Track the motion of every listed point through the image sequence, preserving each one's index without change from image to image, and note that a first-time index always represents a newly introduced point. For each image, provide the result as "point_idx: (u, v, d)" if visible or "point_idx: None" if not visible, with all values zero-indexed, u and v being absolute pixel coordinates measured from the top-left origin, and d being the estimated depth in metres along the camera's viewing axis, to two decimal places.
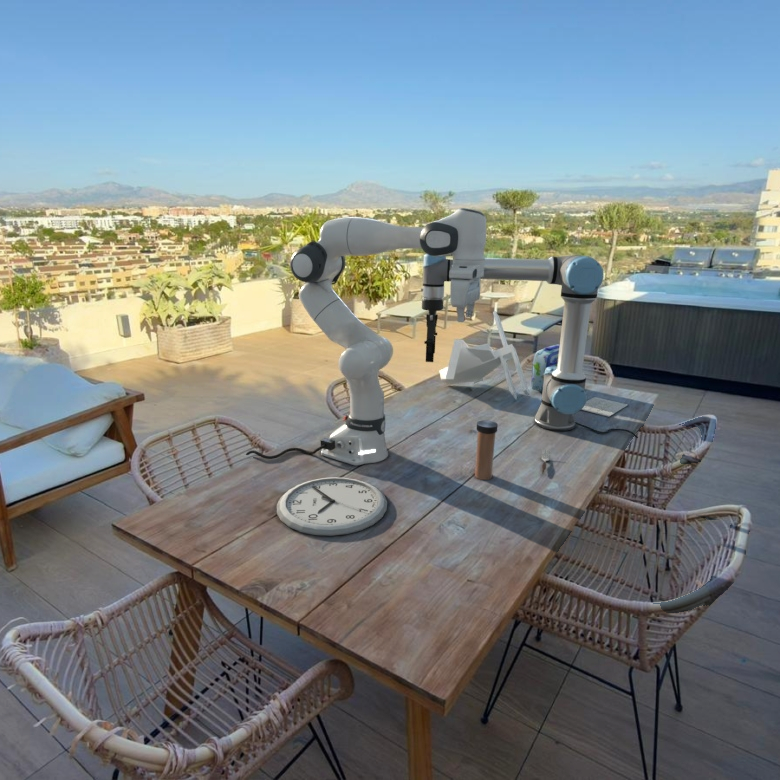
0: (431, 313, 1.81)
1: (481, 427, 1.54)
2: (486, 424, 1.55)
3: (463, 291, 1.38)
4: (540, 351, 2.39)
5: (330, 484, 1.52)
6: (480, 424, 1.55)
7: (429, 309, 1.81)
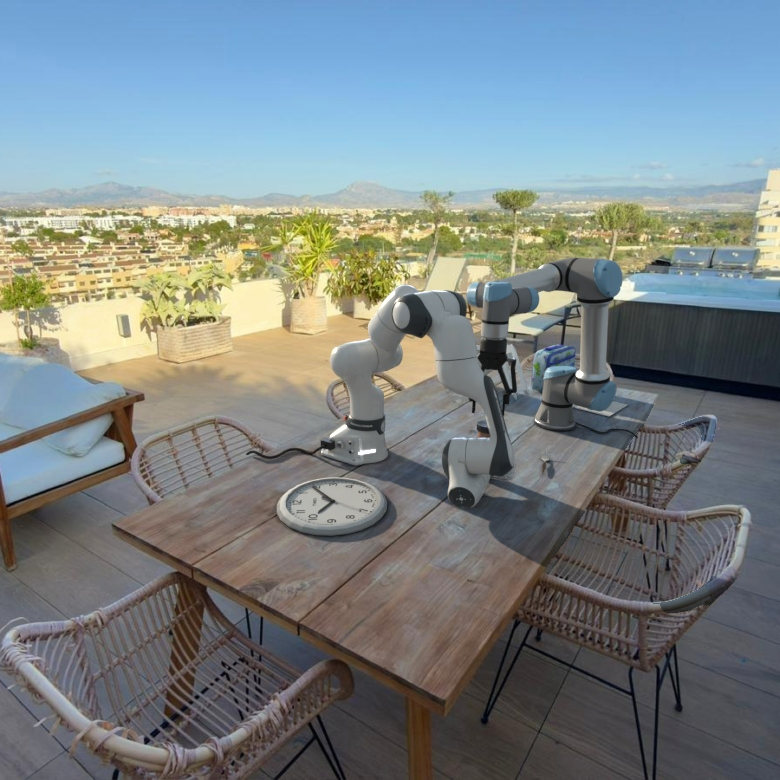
0: None
1: (481, 427, 1.54)
2: (486, 424, 1.55)
3: None
4: (540, 351, 2.39)
5: (330, 484, 1.52)
6: (480, 424, 1.55)
7: None
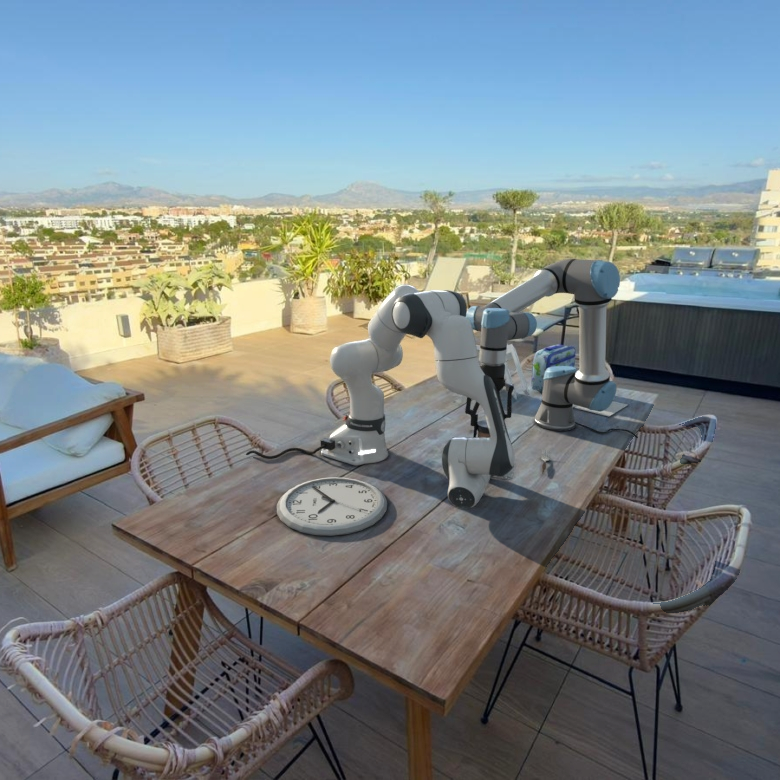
0: None
1: (481, 427, 1.54)
2: (486, 424, 1.55)
3: None
4: (540, 351, 2.39)
5: (330, 484, 1.52)
6: (480, 424, 1.55)
7: None
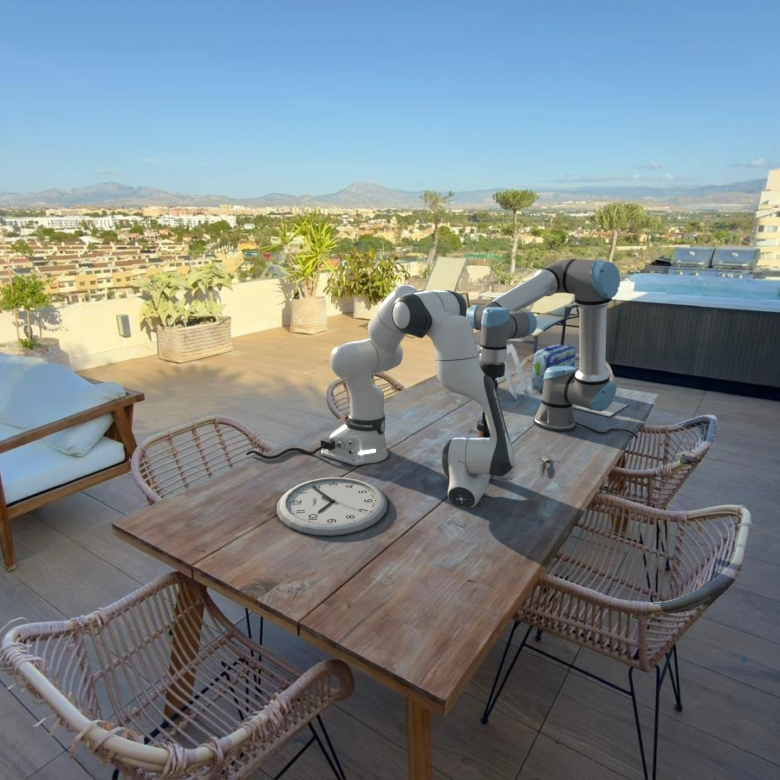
0: None
1: None
2: None
3: None
4: (540, 351, 2.39)
5: (330, 484, 1.52)
6: None
7: (489, 376, 1.48)
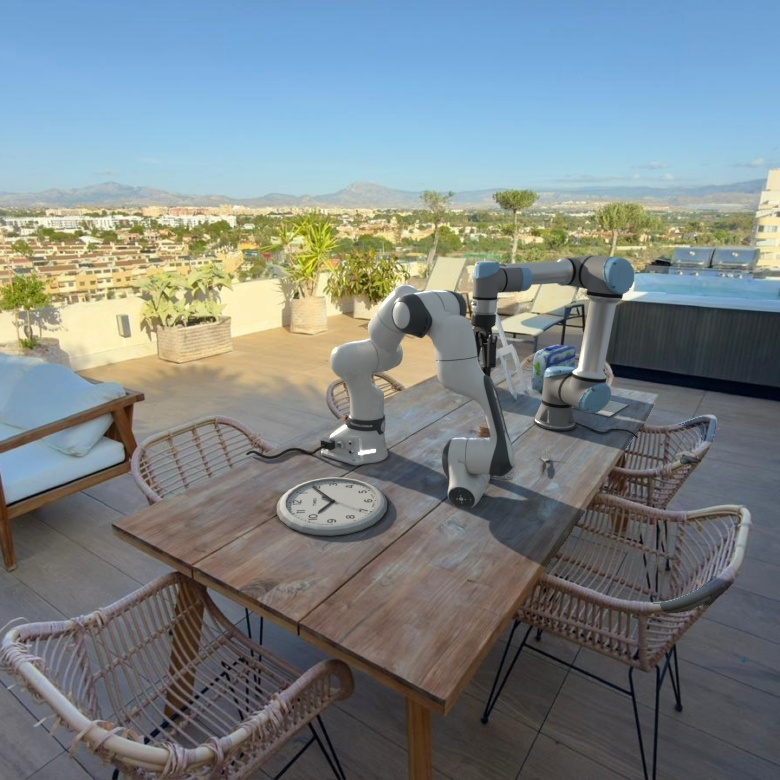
0: (488, 330, 1.59)
1: None
2: None
3: None
4: (540, 351, 2.39)
5: (330, 484, 1.52)
6: None
7: (486, 326, 1.58)
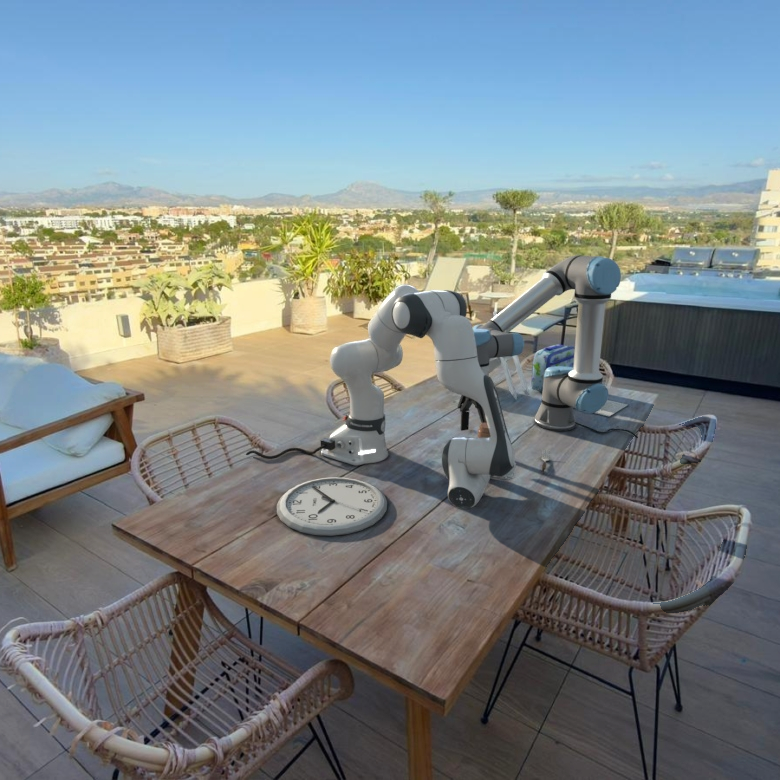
0: None
1: None
2: None
3: None
4: (540, 351, 2.39)
5: (330, 484, 1.52)
6: None
7: None
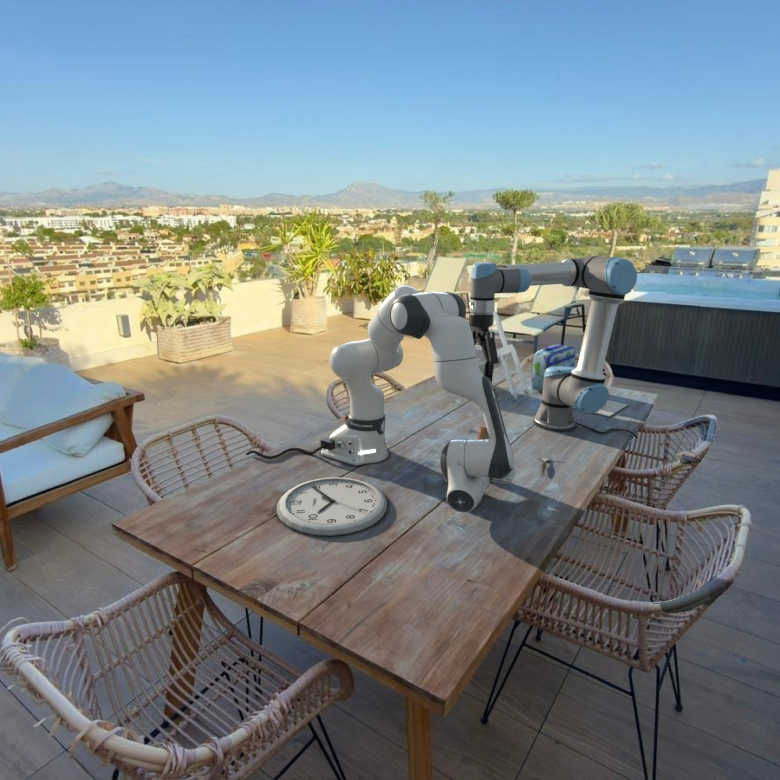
0: (485, 330, 1.62)
1: None
2: None
3: None
4: (540, 351, 2.39)
5: (330, 484, 1.52)
6: None
7: (483, 325, 1.62)
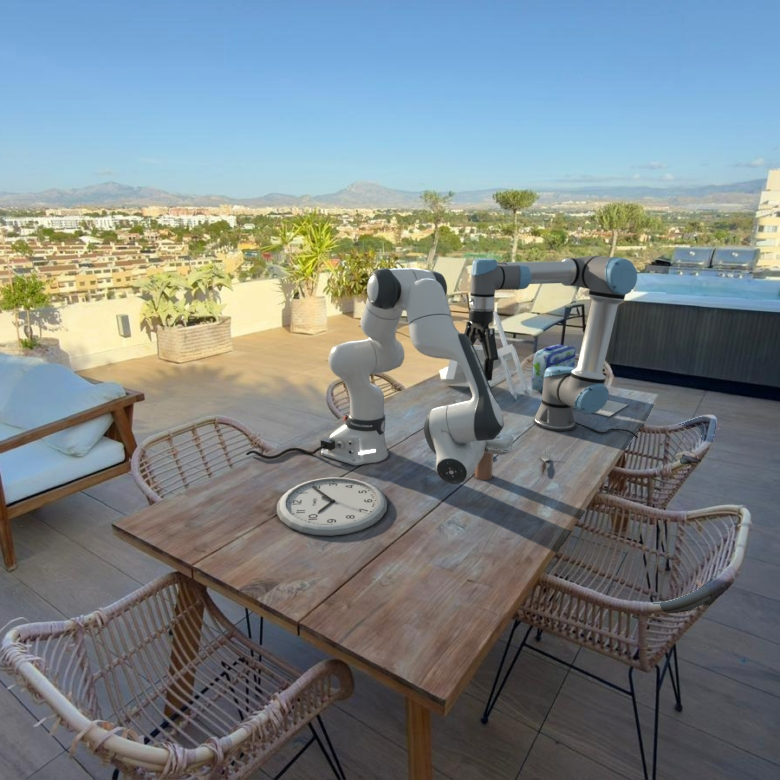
0: (485, 326, 1.62)
1: None
2: None
3: None
4: (540, 351, 2.39)
5: (330, 484, 1.52)
6: None
7: (483, 322, 1.61)
